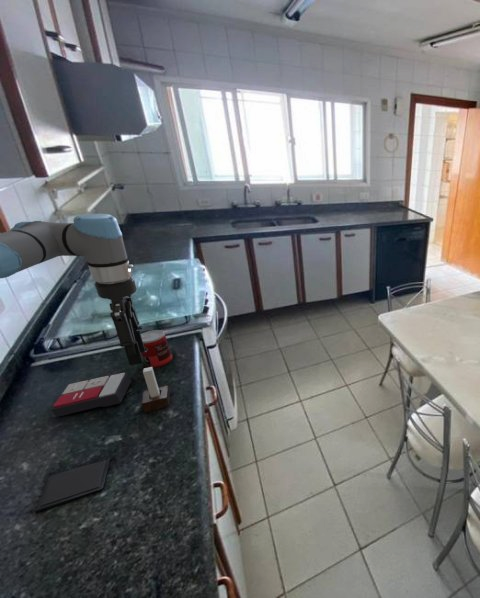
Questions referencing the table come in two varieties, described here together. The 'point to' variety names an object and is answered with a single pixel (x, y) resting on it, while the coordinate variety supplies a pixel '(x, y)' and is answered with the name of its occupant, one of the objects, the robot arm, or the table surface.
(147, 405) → the pen stand
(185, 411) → the table surface
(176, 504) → the table surface
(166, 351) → the canned food
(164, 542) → the table surface
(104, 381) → the red grey flat block
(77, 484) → the plate
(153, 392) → the white square rod
